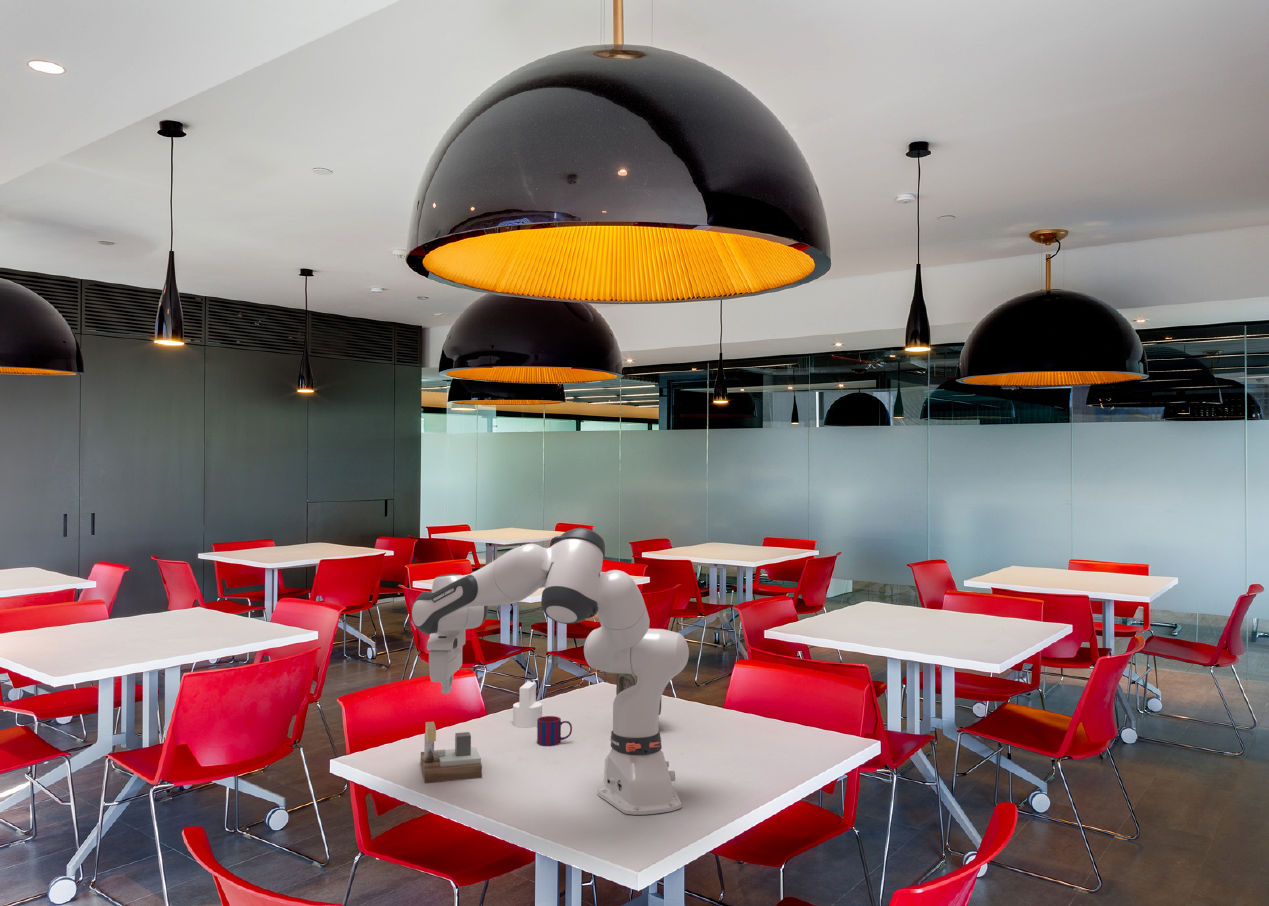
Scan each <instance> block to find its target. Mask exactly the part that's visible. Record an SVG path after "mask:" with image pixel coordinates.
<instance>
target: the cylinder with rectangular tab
mask: <svg viewBox="0 0 1269 906" xmlns="http://www.w3.org/2000/svg"><path fill="white" fill-rule="evenodd" d="M518 699H519V701H517V702H515V703H513V705H512V725H513V727H516V728H520V729H521V728H522V729H531V728H537V719H538V718H540V717H543V703H541V702H539V701H537V682H535V681H526V682H525V683H524V684H523V685H522V686H520V687H519V698H518Z"/></svg>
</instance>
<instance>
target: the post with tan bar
mask: <svg viewBox="0 0 1269 906" xmlns="http://www.w3.org/2000/svg"><path fill="white" fill-rule="evenodd" d="M436 740H437V728H436V724H435V722H434V721H426V722H425V733H424V745H423V746H424V751H423V752H424V761H425V762H432V761H434V756H442V755H445V750H446V749H435V742H437V741H436Z"/></svg>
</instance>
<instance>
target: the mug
mask: <svg viewBox="0 0 1269 906" xmlns="http://www.w3.org/2000/svg"><path fill="white" fill-rule="evenodd" d="M563 724H568V726H569V733H568V734H567V735H566V736H561V735H562V732H561V731H562V729H561V728H562V725H563ZM536 729H537V731H536V733H537V734H536V735H537V736H536V737H537V738H536V743H537V745H538V746H543V747H555V746H558V745H560V744H561V741H562V740H566V739H568V738H569V737H570V736H571V735H572V731H573V726H572V723H571V722H570V721H569V720H563V721H562V720H561V717H559V716H554V715H546V716H545V715H544V716H542V717H540V718H538V719H537V727H536Z"/></svg>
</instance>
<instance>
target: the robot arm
mask: <svg viewBox="0 0 1269 906" xmlns="http://www.w3.org/2000/svg"><path fill="white" fill-rule="evenodd" d="M549 544H550V546H549V547H542V545H539V544H536V543H526V544H523V545H520V546H517V547H515V548H512V549H510V550H507V552H505V553H504V554H502V555H501V556H499V557H497V558H496V559H494V560H492V561H491V562H489V563H488V564H486V565H485V566H483V567H481V568H479V569H477V570H475V571H473V572H471V573H470V574H467V575H466V576H464V575H462V574H460V573H459V574H458V573H450V574H441V575H438V576H436V577H435V578H434V579H433V583H432V586H431V591H423V592H421V593H420V594H419V595H418V596H417V598H416V599H415V600H414V602H413V603H412V606H411V612H410V615H411V620H412V623H413V625H414V627H416V628H417V630H418V631H420V632H421V633H422V634H424V635H429V638H428V640H427V643H426V650H427V651H429V653H428V654H429V655H428V666H429V678H430V681H431V683H440V684H441V694H442V695H448V694H449V693H451V692H452V686H453V680H454V674H455V673H456V672H457V671H458V670H460V669H461V667H462V666H463V646H464V645H466V630H470V629H475V628H479V627H480V626H482V625H483V623H484V622H485V620H486V619H487V616H488V612H489V606H490V607H491V606H493V607H494V606H506V605H507V606H508V605H511V604H515V603H519V602H522V601H523V600H526V599H527V598H528V597H529V596H531V595H532V594H535V592H537V590H539V589H543V588H544V589H543V590H542V592H541V599H540V600H541V601H540V602H541V603H540V606H541V610H542V611H543V612H544V614H545V615H546V616H547V617H548V618H549V619H550V620H551V621H553V622H556V623H560V624H563V625H564V624H565V625H573V624H577V623H581V622H584V621H585V620H586V619H590V618H593V617H595V615H596V617H597V618H598V621H599V623H600V627H597V628H595V629H593V630H591V632H589V634H587V637H586V639H585V641H584V646H583V654H584V658H585V662H586V663H587V664H588V666H589V667H590V668H591V669H593V670H597V671H601V672H605V673H608V674H617V673H622V674H635V675H637V676H638V679H637V684H636V685H634V686H632V687H629V688H627V689H625V690H623V691H622V692H620V693H619V694H618V695H617V696H615V697H614V700H613V703H612V730H611V733H610V748H611V749H610V752H609V753H608V755H606V757H605V759H604V768H603V769H604V770H603V771H604V772H603V773H604V774H603V785H602V787H599V788H598V789H597V793H596V794H597V795H596V796H599V797H600V798H602V799H603V800H605V801H606V802H607V803H608V804H610V805H611V806H613V807H615V809H617V810H619V811H620V812H622V813H623V814H626V815H634V816H635V815H637V816H638V815H639V816H641V815H655V814H662V813H669V812H672V811H676V810H679V809H681V808H683V807H682V802H681V799H680V797H679V795H678V793H677V791H676V789H675V787H674V785H673V782H675V781H676V773H675V770H669V767H670V762H669V760H668V761H667V760H666V759H665V756H664V752H663V751H662V749H663V748H662V736H661V733H660V732H661V731H660V730H659V720H660V717H659V716H660V715H659V706H660V699H661V696H662V695H663V693H664V691H665V689H666V687H667V685H668V684H669V683H670V682H671V680H672V679H673V678H674V677H676V676H677V675H678V674H680V673H681V672H682V671H683V670H684V669H685V668H686V666H687V664H688V661H689V655H690V649H689V646H688V642H687V640H686V638H685V636H683V634H682V633H680V632H676V631H674V630H673V631H672V630H668V629H664V628H650V621H651V620H650V617H649V613H648V610H647V606H646V604H645V600H644V598H643V595H642V593H641V591H640V589H639V587H638V585H637V584H636V582H635V580H634V579H633V578H632V577H631V576H630V574H628V573H626V572H625V571H622V570H618V569H612V570H611V569H610V570H608V571H605V572H604V571H602V567H603V561H604V559H605V557H606V556H605V555H606V546H605V545H606V544H605V540H604V539H603V537H602V536H601V535H599V533H597V532H595V531H594V530H592V529H589V528H585V527H584V528H583V527H578V528H576V527H575V528H573V529H571V530H567V531H565V532H563V533H562V534H561V535H559V536H558V535H556V536H554V537H553V538H552V539H551V541H550V543H549ZM661 700H662V699H661Z"/></svg>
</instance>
